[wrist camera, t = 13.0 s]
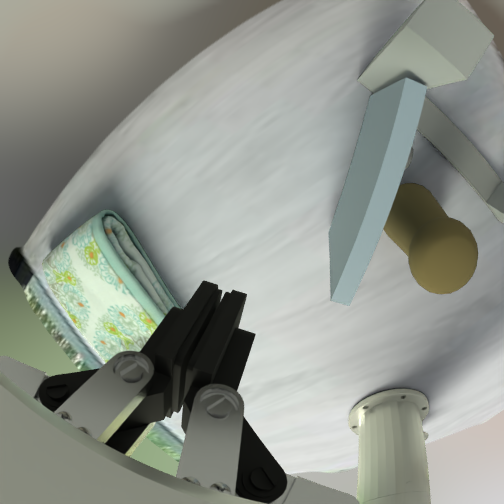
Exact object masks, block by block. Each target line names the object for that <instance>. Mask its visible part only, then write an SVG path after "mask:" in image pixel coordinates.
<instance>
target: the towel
mask: <svg viewBox="0 0 504 504" xmlns="http://www.w3.org/2000/svg"><path fill="white" fill-rule="evenodd" d="M42 266H43V271H44V274H45V276H46V279H47V282H48V284H49V286H50V288H51V290H52V291H53V293H54V295H55V296H56V298H57V299H58V301H59V302H60V304H61V305H62V306H63V308H64V309H65V310H66V312H67V313H68V315H69V316H70V318H71V319H72V321H73V322H74V324H75V325H76V327H77V328H78V329H79V331H80V332H81V334H82V335H83V336H84V338H85V339H86V340H87V341H88V343H89V344H90V345H91V346H92V347H93V348H94V350H95V351H96V352H97V353H98V354H99V356H100V357H101V358H102V359H103V360H104V361H105V363H107V362H108V361H109V360H110V359H111V358H112V357H113V356H114V355H116V354H117V353H120V352H123V351H137V352H140V351H141V349H142V348H143V346H144V345H145V344H146V342H147V341H148V339H149V338H150V337H151V335H152V334H153V332H154V331H155V330H156V328H157V327H158V326H159V324H160V323H161V321H162V320H163V319H164V317H165V316H166V315H167V313H168V312H169V311H170V309H171V308H172V307H174V306H175V307H177V308H180V307H179V305H178V304H177V302H176V301H175V299H174V298H173V296H172V295H171V294H170V292H169V290H168V289H167V287H166V286H165V284H164V282H163V281H162V279H161V278H160V276H159V274H158V273H157V271H156V269H155V268H154V266H153V264H152V263H151V261H150V259H149V258H148V256H147V255H146V253H145V252H144V250H143V248H142V246H141V245H140V243H139V241H138V240H137V238H136V237H135V235H134V234H133V232H132V231H131V229H130V228H129V227H128V225H127V224H126V223H125V221H124V220H123V219H122V218H120V217H119V216H118V214H117V213H115V212H114V211H112V210H102V211H101V212H100V213H99V214H97V215H95V216H93V217H92V218H91V219H89V220H88V221H87V222H85V223H84V224H83V225H82V226H80V227H79V228H78V229H77V230H75V231H74V232H73V233H72V234H71V235H69V236H68V237H67V238H66V239H65V240H64V241H62V242H61V243H60V244H59V245H58V246H57V247H56V248H55V249H53V250H52V251H51V252H50V253H49V254H48V255H47V256H46V258H45V259H44V260H43V263H42ZM180 309H181V308H180Z"/></svg>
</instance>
